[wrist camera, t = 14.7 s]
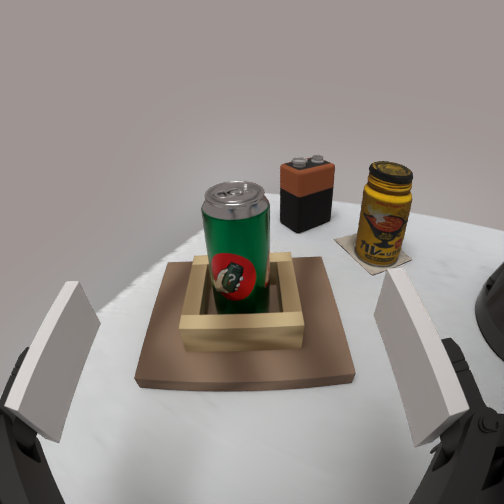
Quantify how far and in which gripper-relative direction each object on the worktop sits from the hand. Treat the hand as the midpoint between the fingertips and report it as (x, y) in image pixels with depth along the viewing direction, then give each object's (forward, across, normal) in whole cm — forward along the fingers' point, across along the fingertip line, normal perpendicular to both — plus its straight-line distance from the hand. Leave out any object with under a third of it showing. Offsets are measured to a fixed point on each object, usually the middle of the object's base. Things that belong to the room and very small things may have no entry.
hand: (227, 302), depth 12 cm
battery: (+30, +8, -14) cm, 35 cm away
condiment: (+22, +16, -15) cm, 31 cm away
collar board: (+11, 0, -14) cm, 18 cm away
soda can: (+11, 0, -13) cm, 17 cm away
